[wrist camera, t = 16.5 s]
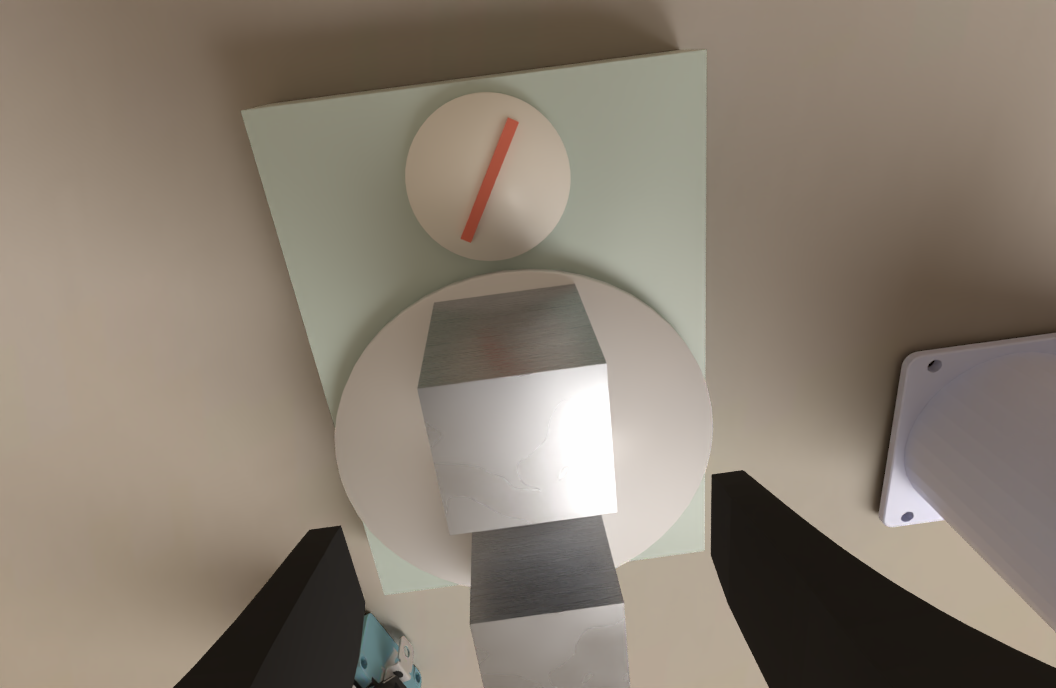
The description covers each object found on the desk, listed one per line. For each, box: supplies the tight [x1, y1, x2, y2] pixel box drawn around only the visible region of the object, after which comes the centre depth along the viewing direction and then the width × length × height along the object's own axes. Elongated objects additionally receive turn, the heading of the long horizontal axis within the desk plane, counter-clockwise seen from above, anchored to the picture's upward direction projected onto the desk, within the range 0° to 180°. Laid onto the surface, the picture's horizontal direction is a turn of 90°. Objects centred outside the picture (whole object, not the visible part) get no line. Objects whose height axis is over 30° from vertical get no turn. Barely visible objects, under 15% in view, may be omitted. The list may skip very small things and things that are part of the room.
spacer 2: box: [470, 515, 630, 688], centre depth 19 cm, size 4×4×5 cm
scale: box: [241, 49, 713, 595], centre depth 20 cm, size 12×17×3 cm
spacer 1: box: [417, 284, 617, 535], centre depth 16 cm, size 4×4×5 cm
